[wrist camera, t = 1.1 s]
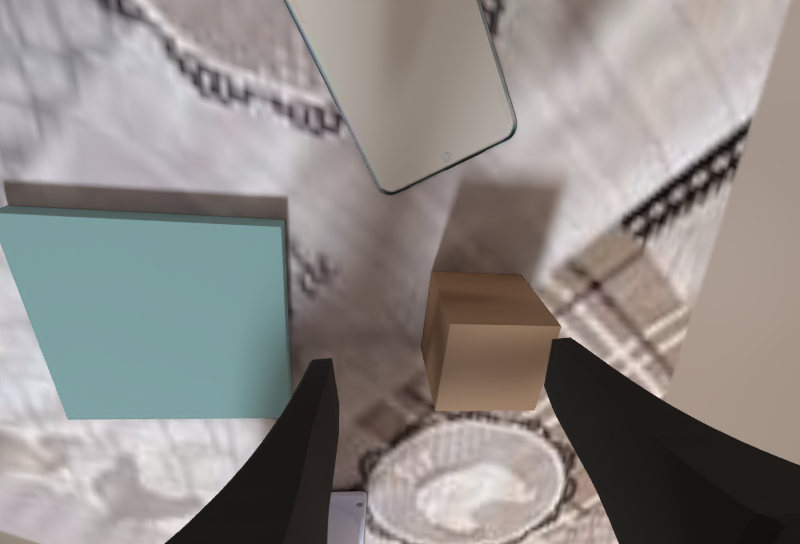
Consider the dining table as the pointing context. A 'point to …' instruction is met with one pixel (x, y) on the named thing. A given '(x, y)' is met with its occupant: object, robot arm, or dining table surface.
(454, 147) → the smartphone
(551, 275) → the dining table surface
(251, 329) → the teal square plate
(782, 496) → the robot arm
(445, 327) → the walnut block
